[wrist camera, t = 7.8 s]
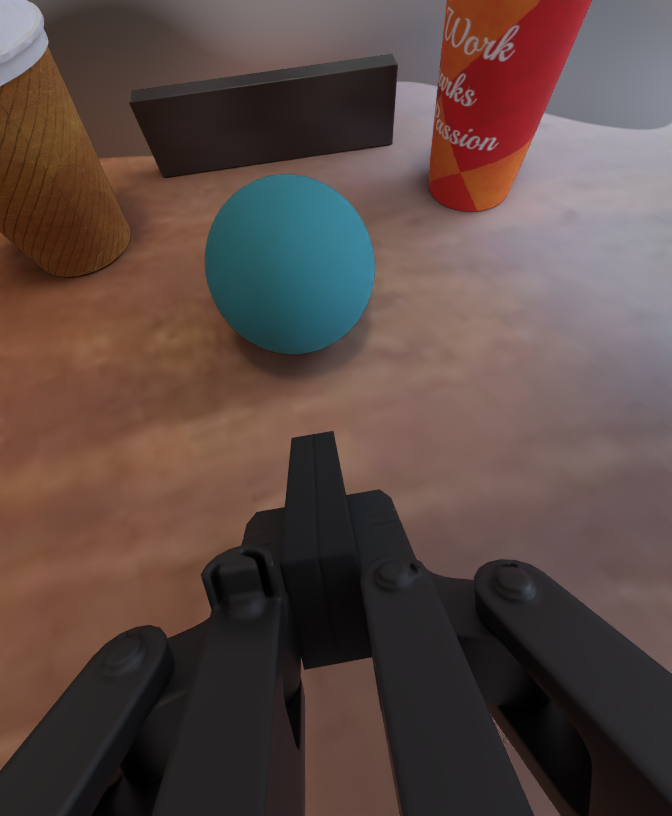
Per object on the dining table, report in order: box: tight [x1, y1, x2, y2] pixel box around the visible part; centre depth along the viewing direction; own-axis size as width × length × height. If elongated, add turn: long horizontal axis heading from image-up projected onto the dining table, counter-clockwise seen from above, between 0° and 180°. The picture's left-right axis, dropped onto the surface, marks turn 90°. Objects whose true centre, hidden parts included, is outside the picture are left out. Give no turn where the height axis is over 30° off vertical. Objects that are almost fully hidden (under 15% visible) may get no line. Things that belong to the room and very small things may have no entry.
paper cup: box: [429, 0, 592, 211], centre depth 21 cm, size 8×8×14 cm
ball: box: [205, 174, 375, 354], centre depth 18 cm, size 8×8×8 cm
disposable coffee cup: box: [0, 0, 131, 277], centre depth 21 cm, size 10×10×12 cm
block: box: [129, 54, 398, 177], centre depth 28 cm, size 18×2×5 cm, turn 99°
